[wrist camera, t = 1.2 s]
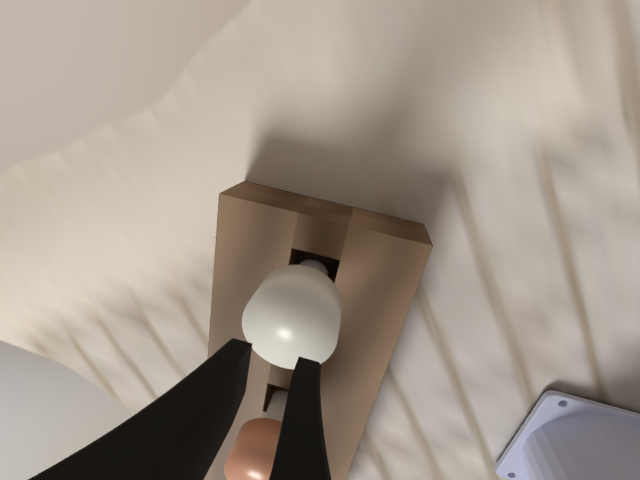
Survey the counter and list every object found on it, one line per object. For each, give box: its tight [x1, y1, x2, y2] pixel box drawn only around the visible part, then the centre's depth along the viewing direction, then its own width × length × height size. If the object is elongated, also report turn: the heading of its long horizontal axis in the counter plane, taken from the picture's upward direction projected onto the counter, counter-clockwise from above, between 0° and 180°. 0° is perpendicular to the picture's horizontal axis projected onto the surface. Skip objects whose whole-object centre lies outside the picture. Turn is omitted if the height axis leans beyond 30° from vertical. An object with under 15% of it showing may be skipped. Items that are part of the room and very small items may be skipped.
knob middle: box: [224, 390, 289, 480], centre depth 17 cm, size 4×4×4 cm
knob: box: [242, 259, 343, 369], centre depth 13 cm, size 4×4×4 cm
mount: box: [204, 181, 433, 480], centre depth 20 cm, size 10×24×3 cm, turn 169°
